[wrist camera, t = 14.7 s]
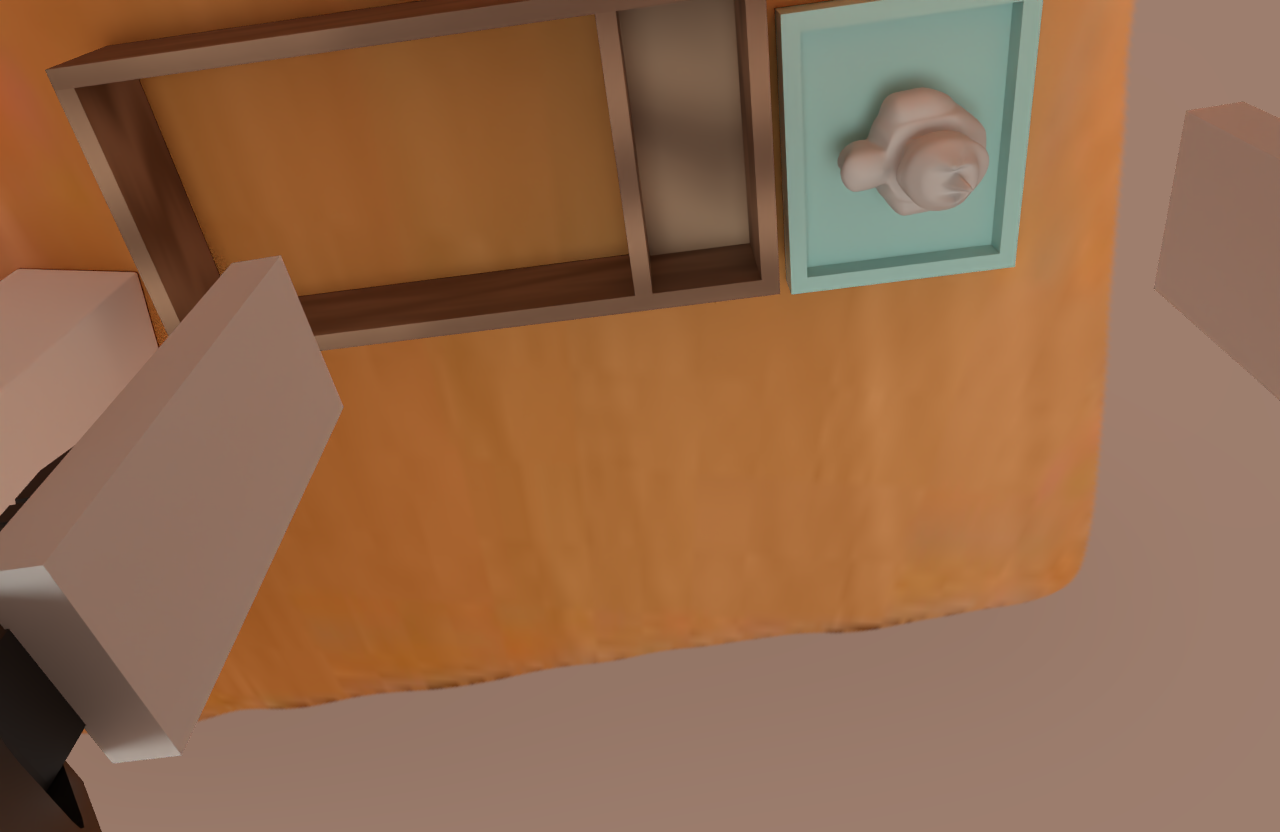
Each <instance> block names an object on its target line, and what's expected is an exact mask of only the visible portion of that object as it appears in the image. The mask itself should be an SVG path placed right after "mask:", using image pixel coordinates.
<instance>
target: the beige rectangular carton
mask: <svg viewBox="0 0 1280 832" xmlns="http://www.w3.org/2000/svg"><path fill="white" fill-rule="evenodd" d="M157 349H158V345H157V341H156V338H155V334H154V331H153V327H152V324H151V320H150V316H149V313H148V309H147V306H146V302H145V299H144V295H143V292H142V288H141V285H140V281H139V278H138V274H137V273H136V272H112V271H77V270H42V269H18V270H16V271H14V272H13V273H11V274H10V275H8V276H7V277H6V278H4V279H3V280H1V281H0V515H1V514H2V513H3V512H4V511H5V510H6V509H7V507H8V506H9V505H15V498H16V497H17V496H18V495H19V494H20V493H21V492H22V490H23V489H24V488H25V487H26V486H27V485H28V484H29V483H30V481H31V480H32V479H33V478H34V477H35V476H36V475H37V473H38V472H39V471H40V470H41V469H43V468H44V467H46V466H47V465H48V464H50V463H51V462H52V461H54V460H55V459H57V458H58V457H59V456H61V455H62V454H63V453H65V452H66V451H68V450H69V449H70V448H72V447H73V446H74V445H75V444H76V443H77V442H78V441H79V440H80V439H81V438H82V436H83V435H84V434H85V433H86V432H87V431H88V429H89V428H90V427H91V426H92V425H93V424H94V422H95V421H96V420H97V419H98V418H99V417H100V415H101V414H102V413H103V412H104V411H105V410H106V409H107V407H108V406H109V405H110V404H111V403H112V402H113V400H114V399H115V398H116V397H117V396H118V395H119V393H120V392H121V391H122V390H123V389H124V388H125V387H126V385H127V384H128V383H129V382H130V381H131V380H132V378H133V377H134V376H135V375H136V374H137V373H138V371H139V370H140V369H141V368H142V367H143V366H144V364H145V363H146V362H147V361H148V360H149V359H150V358H151V356H152V355H153V354H154V353H155V352H156V351H157Z"/></svg>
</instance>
